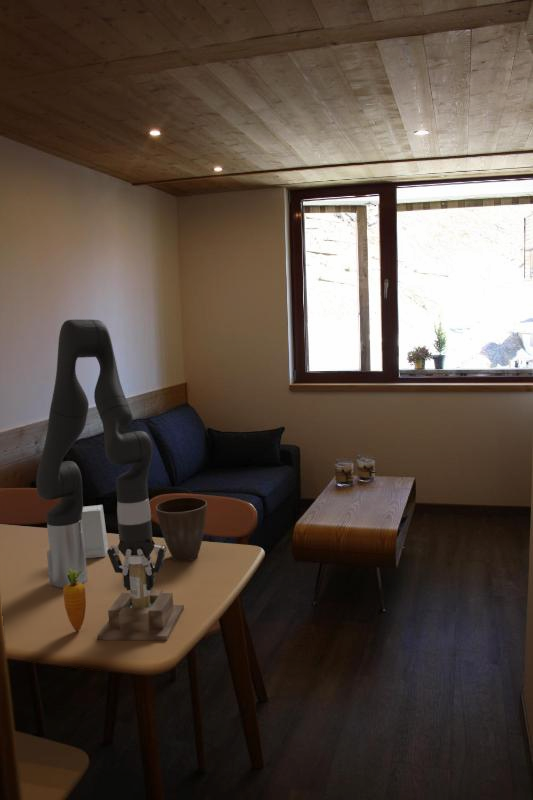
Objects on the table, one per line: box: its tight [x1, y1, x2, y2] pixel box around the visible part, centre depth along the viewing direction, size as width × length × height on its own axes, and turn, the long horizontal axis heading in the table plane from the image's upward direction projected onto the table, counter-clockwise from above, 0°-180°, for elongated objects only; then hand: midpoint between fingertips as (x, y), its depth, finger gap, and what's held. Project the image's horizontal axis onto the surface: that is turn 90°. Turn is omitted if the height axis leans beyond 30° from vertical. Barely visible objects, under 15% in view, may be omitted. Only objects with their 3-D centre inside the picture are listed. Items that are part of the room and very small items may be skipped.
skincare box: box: [82, 504, 109, 559], centre depth 211 cm, size 8×6×15 cm
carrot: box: [62, 569, 87, 632], centre depth 161 cm, size 5×5×15 cm
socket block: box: [97, 589, 185, 641], centre depth 163 cm, size 16×16×6 cm
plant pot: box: [155, 497, 208, 562], centre depth 205 cm, size 15×15×16 cm
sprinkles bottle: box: [129, 555, 151, 608], centre depth 162 cm, size 5×5×13 cm
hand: (139, 588), depth 163 cm, fingers closed on sprinkles bottle, 4 cm apart
